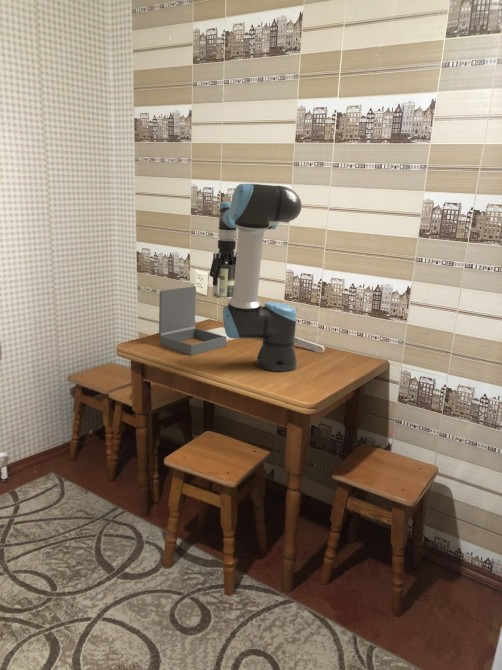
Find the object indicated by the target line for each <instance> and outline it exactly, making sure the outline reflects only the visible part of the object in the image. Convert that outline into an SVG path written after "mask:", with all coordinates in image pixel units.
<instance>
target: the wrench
mask: <svg viewBox="0 0 502 670" xmlns="http://www.w3.org/2000/svg"><path fill="white" fill-rule="evenodd" d="M294 345H296V346H299V347H301V348H303V349H304V348H305V349H308V350H309V351H312V352H315V353H318V354H319V353H320V354H322V353H324V352H325V349H326V348H325V346H324V345H322V344H318V343H316V342H312V341H310V340H306V339H303V338H301V337H298V336H295V338H294ZM320 348H321V349H322V351H321V350H320Z"/></svg>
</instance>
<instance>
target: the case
mask: <svg viewBox="0 0 502 670" xmlns="http://www.w3.org/2000/svg"><path fill="white" fill-rule="evenodd" d="M196 296H197V287H196V286H194V285H193V286H186V287H178V288H177V287H176V288H169V289H164V290H159V300H158V301H159V303H158V304H159V308H158V310H159V311H158V312H159V313H158V314H159V315H158V335H159V346H162V347H164V348H168V349H171V350H174V351H177V352H180V353H182V354H186V355H190V356H194V355H197V354H201V353H205V352H209V351H213V350H217V349H220V348H224V347H227V341H226V336H222V335H219V334H215V333H211V332H208V331H206V330H204V329H201V328H197V327H196V326H195V325H196V323H195V322H196V303H197V302H196ZM190 339H200V340H201V342H196V343H193V344H191V343H188V342H185V341H187V340H190Z"/></svg>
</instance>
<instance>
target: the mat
mask: <svg viewBox="0 0 502 670" xmlns="http://www.w3.org/2000/svg"><path fill="white" fill-rule="evenodd" d="M205 331H208V332H211V333H215V334H219V335H222V336H226V342H228V341H231V340H235V339H237V338H229V337H228V336H227V335H226V332H225V328H224V326H221V327H216V328H211V329H206V330H205Z"/></svg>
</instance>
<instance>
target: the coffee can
mask: <svg viewBox="0 0 502 670" xmlns="http://www.w3.org/2000/svg"><path fill="white" fill-rule="evenodd" d="M235 267H236V264H234V265H231V264H228V262H225V264H224V265H223V266H221V265H218V267H217V268H220V274H219V276H218V278H220V281H219V293H214V292H213V291H212V297H214V299H215V298H216V299H220V300H221V299H223V300H229V299H231V298H232V297H233V292H234V279H235Z"/></svg>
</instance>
